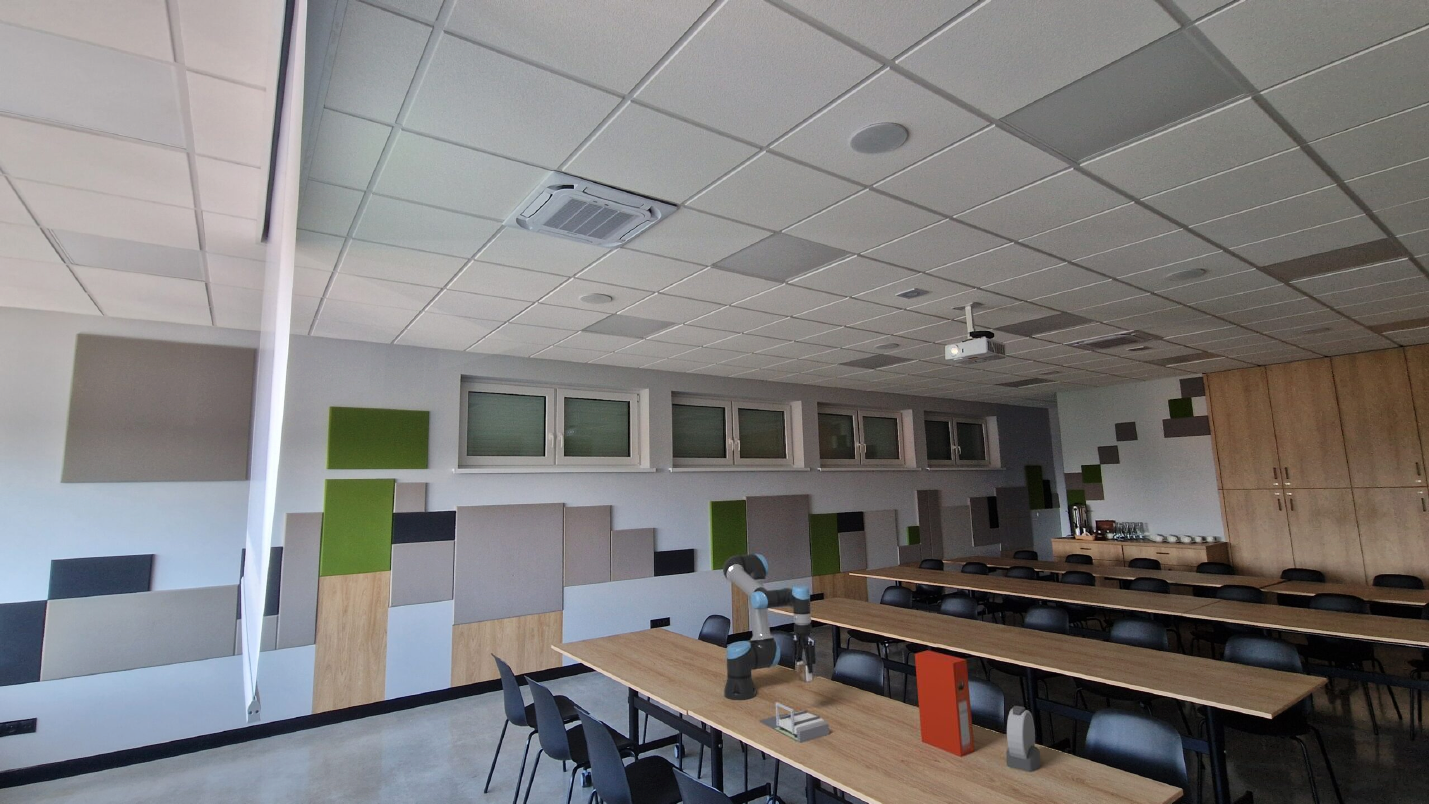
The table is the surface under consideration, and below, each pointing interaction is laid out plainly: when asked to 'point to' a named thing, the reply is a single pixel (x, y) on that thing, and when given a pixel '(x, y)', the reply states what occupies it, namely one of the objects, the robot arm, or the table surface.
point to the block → (802, 672)
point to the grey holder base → (801, 734)
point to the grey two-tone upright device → (1021, 741)
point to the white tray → (796, 720)
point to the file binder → (944, 702)
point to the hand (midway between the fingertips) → (805, 678)
